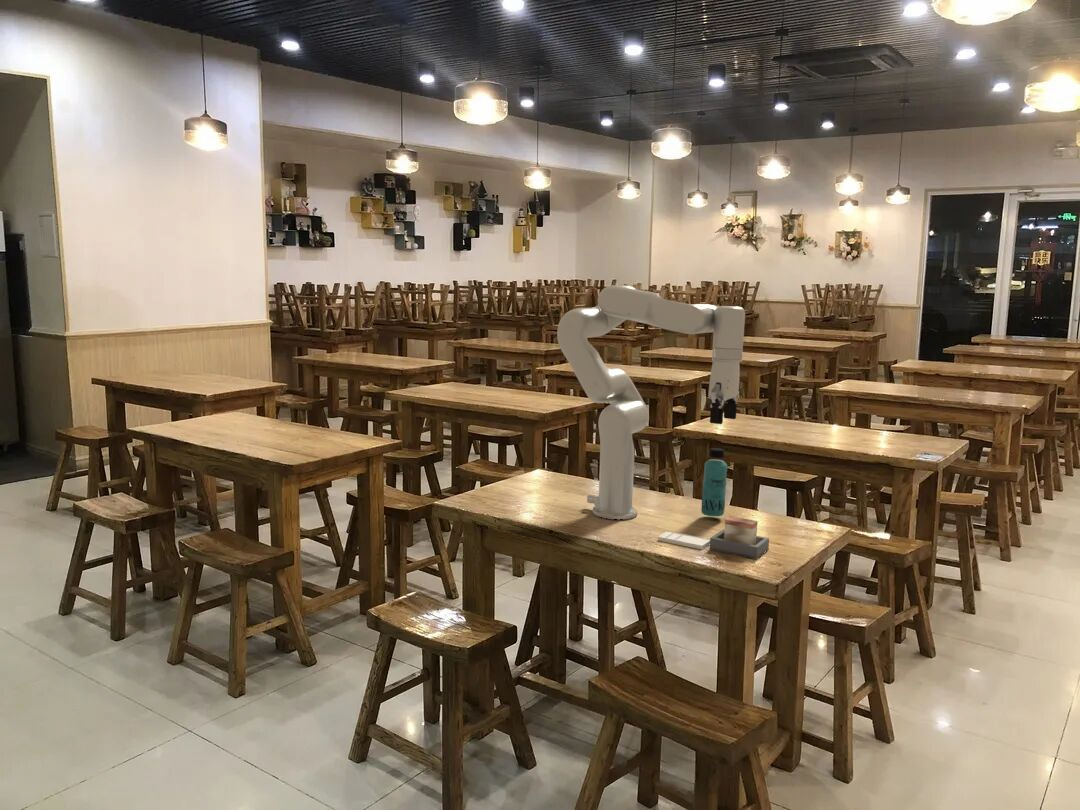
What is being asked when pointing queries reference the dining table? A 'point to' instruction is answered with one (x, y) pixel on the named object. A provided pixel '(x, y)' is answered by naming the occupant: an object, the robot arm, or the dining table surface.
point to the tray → (739, 546)
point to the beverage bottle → (714, 484)
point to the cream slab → (684, 540)
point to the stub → (740, 530)
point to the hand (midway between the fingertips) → (723, 420)
